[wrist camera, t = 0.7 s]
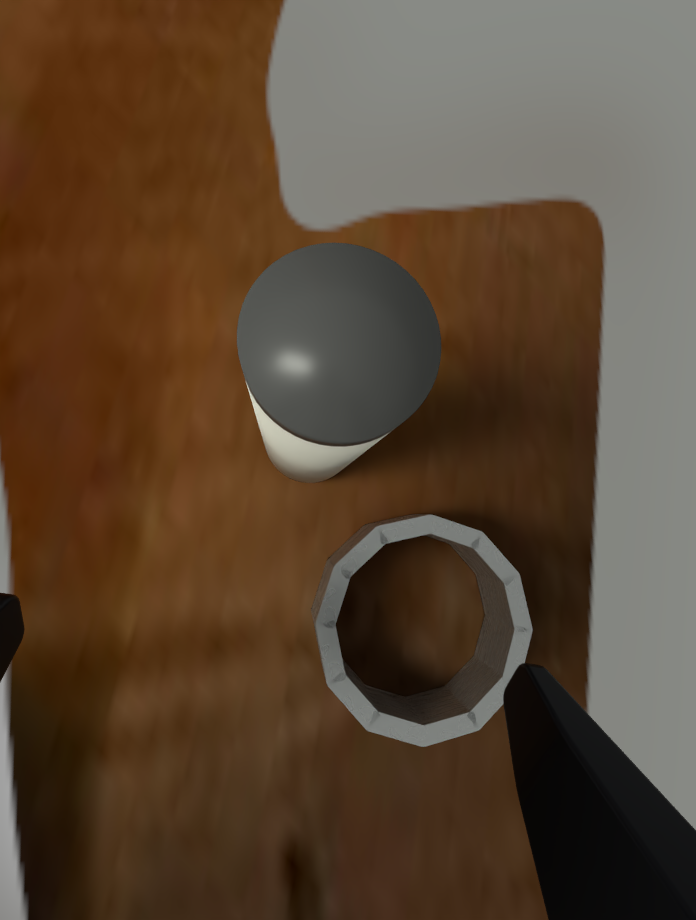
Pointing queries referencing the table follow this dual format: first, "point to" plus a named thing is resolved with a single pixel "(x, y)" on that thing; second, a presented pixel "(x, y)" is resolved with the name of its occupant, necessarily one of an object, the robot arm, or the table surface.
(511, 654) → the collar
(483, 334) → the table surface
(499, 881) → the table surface
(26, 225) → the table surface
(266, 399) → the peg
